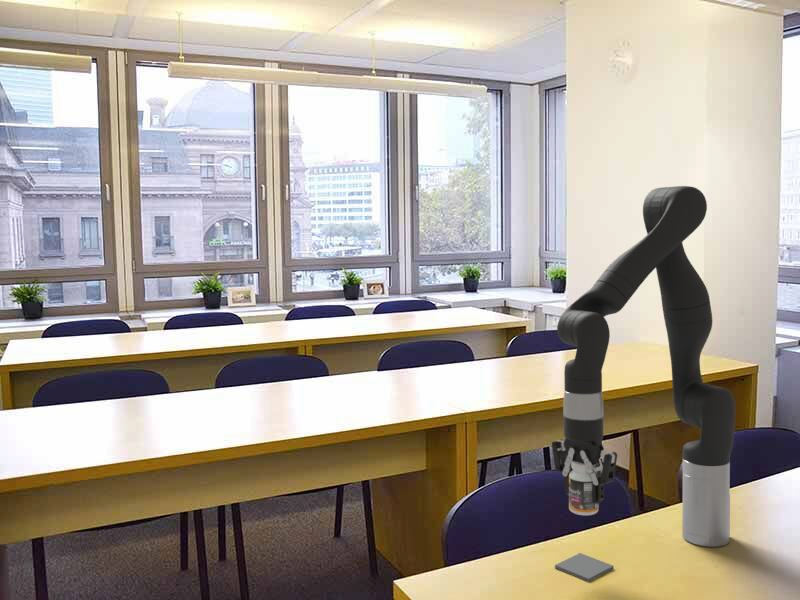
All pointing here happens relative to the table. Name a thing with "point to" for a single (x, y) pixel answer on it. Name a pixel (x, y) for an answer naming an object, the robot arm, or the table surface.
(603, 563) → the coaster
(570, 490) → the pill bottle
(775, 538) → the table surface
